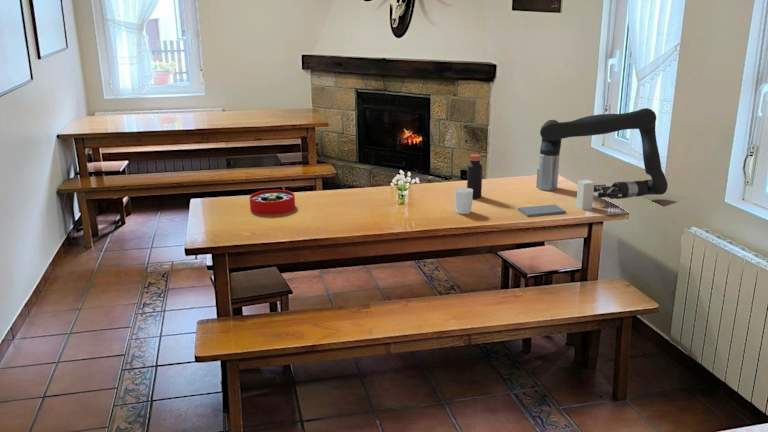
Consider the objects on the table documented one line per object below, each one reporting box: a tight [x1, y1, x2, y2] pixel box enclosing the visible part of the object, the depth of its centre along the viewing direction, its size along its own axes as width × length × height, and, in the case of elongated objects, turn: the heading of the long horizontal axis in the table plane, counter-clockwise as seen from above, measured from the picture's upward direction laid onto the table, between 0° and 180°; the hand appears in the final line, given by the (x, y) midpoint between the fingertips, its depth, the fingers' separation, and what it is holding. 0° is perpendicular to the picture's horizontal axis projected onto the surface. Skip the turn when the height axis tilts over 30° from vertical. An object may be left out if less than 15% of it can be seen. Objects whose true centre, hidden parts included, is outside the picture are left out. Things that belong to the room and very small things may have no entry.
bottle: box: [466, 153, 483, 200], centre depth 321 cm, size 7×7×20 cm
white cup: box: [454, 187, 473, 215], centre depth 301 cm, size 8×8×10 cm
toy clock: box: [249, 189, 296, 215], centre depth 310 cm, size 20×6×20 cm
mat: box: [517, 204, 567, 218], centre depth 302 cm, size 18×10×1 cm, turn 104°
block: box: [575, 179, 595, 211], centre depth 305 cm, size 5×5×12 cm
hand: (592, 192), depth 305 cm, fingers open, 8 cm apart
